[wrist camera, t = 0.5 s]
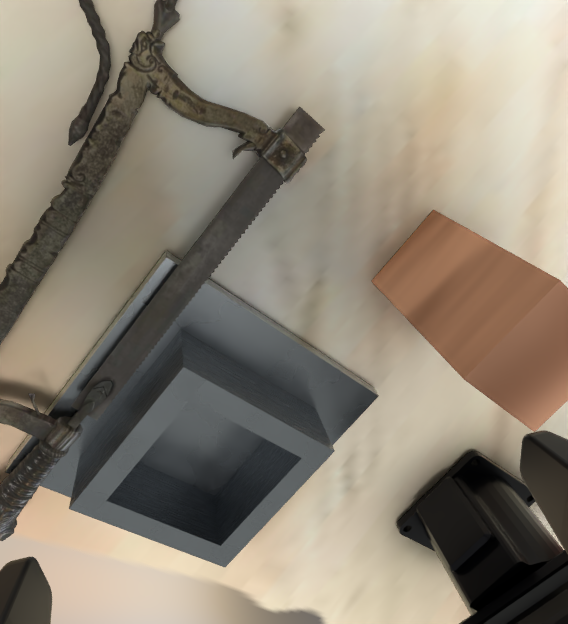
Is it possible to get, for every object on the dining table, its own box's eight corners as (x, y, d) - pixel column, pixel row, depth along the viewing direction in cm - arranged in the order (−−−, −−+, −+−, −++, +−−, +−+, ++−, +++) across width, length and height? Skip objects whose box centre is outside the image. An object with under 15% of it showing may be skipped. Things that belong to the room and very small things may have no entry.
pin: (488, 261, 24) (624, 345, 17) (428, 325, 25) (534, 431, 18) (433, 209, 22) (560, 280, 15) (371, 281, 23) (463, 378, 16)
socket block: (372, 386, 26) (404, 435, 22) (225, 545, 28) (234, 610, 25) (166, 250, 21) (167, 287, 17) (9, 459, 23) (-16, 527, 20)
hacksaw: (2, 559, 23) (-306, 506, 17) (7, 507, 25) (-263, 446, 19) (365, 92, 18) (110, -188, 13) (330, 82, 20) (102, -159, 15)
